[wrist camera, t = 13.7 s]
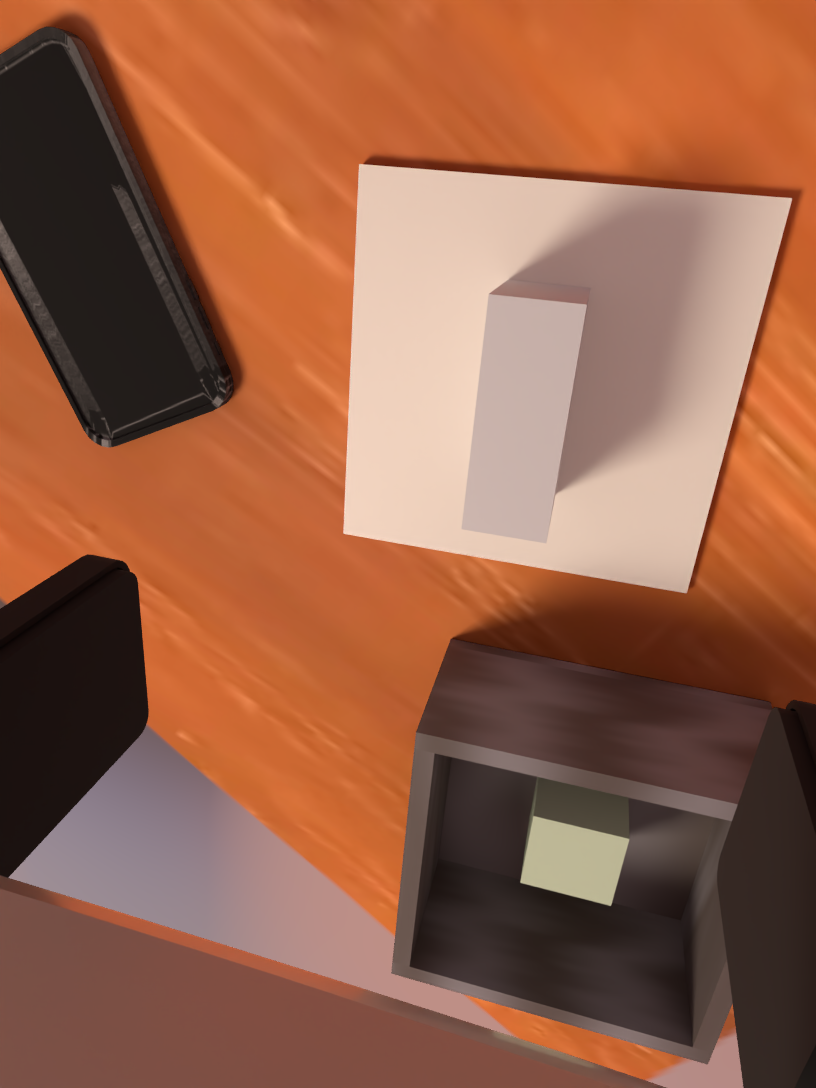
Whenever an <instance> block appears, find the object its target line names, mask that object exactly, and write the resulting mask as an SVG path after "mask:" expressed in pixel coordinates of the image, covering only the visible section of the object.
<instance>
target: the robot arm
mask: <svg viewBox="0 0 816 1088" xmlns="http://www.w3.org/2000/svg"><path fill="white" fill-rule="evenodd" d="M147 720H148V698H147V687H146V675H145V663H144V651H143V639H142V627H141V615H140V603H139V591H138V582H137V578H136V576H135V574H133V573H132V572H130V570H129V568H128V566H127V564H126V563H124V562H123V561H120V560H115V559H110V558H105V557H100V556H95V555H85V556H83V557H81V558H79V559H78V560H76V561H75V562H73V563H72V564H70V565H68V566H67V567H65V568H64V569H62V570H61V571H59V572H57V573H56V574H54V575H53V576H51V577H50V578H48V579H46V580H45V581H43V582H42V583H40V584H38V585H37V586H35V587H34V588H32V589H31V590H29V591H27V592H26V593H24V594H23V595H21V596H20V597H18V598H16V599H15V600H13V601H12V602H10V603H9V604H7V605H5V606H4V607H2V608H1V609H0V1088H666V1087H663V1086H660V1085H657V1084H654V1083H651V1082H648V1081H645V1080H642V1079H639V1078H636V1077H633V1076H630V1075H627V1074H624V1073H621V1072H618V1071H615V1070H613V1069H610V1068H607V1067H604V1066H601V1065H598V1064H595V1063H592V1062H589V1061H586V1060H583V1059H580V1058H577V1057H574V1056H571V1055H568V1054H565V1053H562V1052H559V1051H556V1050H553V1049H550V1048H547V1047H544V1046H541V1045H537V1044H534V1043H531V1042H528V1041H525V1040H522V1039H519V1038H516V1037H512V1036H509V1035H506V1034H503V1033H500V1032H497V1031H493V1030H491V1029H487V1028H484V1027H481V1026H478V1025H475V1024H472V1023H469V1022H466V1021H462V1020H459V1019H456V1018H453V1017H450V1016H447V1015H443V1014H440V1013H437V1012H434V1011H431V1010H428V1009H425V1008H422V1007H418V1006H415V1005H412V1004H409V1003H406V1002H403V1001H400V1000H397V999H393V998H390V997H387V996H384V995H381V994H378V993H375V992H372V991H368V990H366V989H362V988H359V987H356V986H353V985H350V984H347V983H343V982H341V981H337V980H334V979H331V978H328V977H325V976H321V975H318V974H315V973H312V972H309V971H305V970H302V969H299V968H296V967H293V966H290V965H286V964H283V963H280V962H277V961H274V960H271V959H267V958H264V957H261V956H258V955H254V954H251V953H248V952H245V951H242V950H239V949H236V948H233V947H229V946H226V945H223V944H220V943H216V942H213V941H210V940H207V939H204V938H201V937H197V936H194V935H191V934H188V933H185V932H181V931H178V930H175V929H172V928H169V927H165V926H162V925H159V924H156V923H153V922H149V921H146V920H143V919H140V918H137V917H133V916H130V915H127V914H124V913H121V912H117V911H114V910H111V909H108V908H104V907H101V906H98V905H95V904H91V903H88V902H85V901H82V900H78V899H75V898H72V897H68V896H65V895H62V894H59V893H56V892H52V891H49V890H46V889H43V888H39V887H36V886H32V885H29V884H26V883H23V882H20V881H17V880H13V879H10V878H8V877H9V876H10V875H11V874H12V873H13V872H14V871H15V870H16V869H17V867H18V866H19V865H20V864H21V863H22V862H23V861H24V860H25V859H26V858H27V857H28V856H29V855H30V854H31V852H32V851H33V850H34V849H35V848H36V847H37V846H38V845H39V844H40V843H41V842H42V841H43V840H44V838H45V837H46V836H47V835H48V834H49V833H50V832H51V831H52V830H53V829H54V828H55V827H56V826H57V824H58V823H59V822H60V821H61V820H62V819H63V818H64V817H65V816H66V815H67V814H68V812H70V810H71V809H72V808H73V807H74V806H75V805H76V804H77V803H78V802H79V801H80V800H81V798H82V797H83V796H84V795H85V794H86V793H87V792H88V791H89V790H90V789H91V788H92V787H93V786H94V785H95V784H96V782H97V781H98V780H99V779H100V778H101V777H102V776H103V775H104V774H105V772H107V771H108V770H109V768H110V767H111V766H112V765H113V764H114V763H115V762H116V761H117V760H118V759H119V758H120V757H121V755H122V754H123V753H124V752H125V751H126V750H127V749H128V748H129V747H130V746H131V745H132V744H133V742H134V741H135V740H136V739H137V738H138V737H139V736H140V735H141V733H142V732H143V730H144V728H145V726H146V723H147ZM717 886H718V894H719V902H720V909H721V917H722V925H723V933H724V940H725V948H726V956H727V963H728V971H729V979H730V986H731V994H732V1002H733V1009H734V1017H735V1025H736V1033H737V1040H738V1047H739V1055H740V1063H741V1071H742V1078H743V1086H744V1088H816V704H811V703H807V702H802V701H797V700H793V701H791V702H790V703H789V704H788V705H787V707H786V709H781V708H777V707H775V708H773V709H772V710H771V712H770V714H769V716H768V719H767V722H766V725H765V728H764V730H763V733H762V736H761V739H760V742H759V745H758V748H757V751H756V753H755V756H754V759H753V762H752V765H751V768H750V771H749V774H748V776H747V779H746V782H745V785H744V788H743V791H742V794H741V797H740V799H739V802H738V805H737V808H736V811H735V814H734V817H733V819H732V822H731V825H730V828H729V831H728V834H727V837H726V840H725V842H724V845H723V848H722V851H721V854H720V858H719V862H718V870H717Z"/></svg>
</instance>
